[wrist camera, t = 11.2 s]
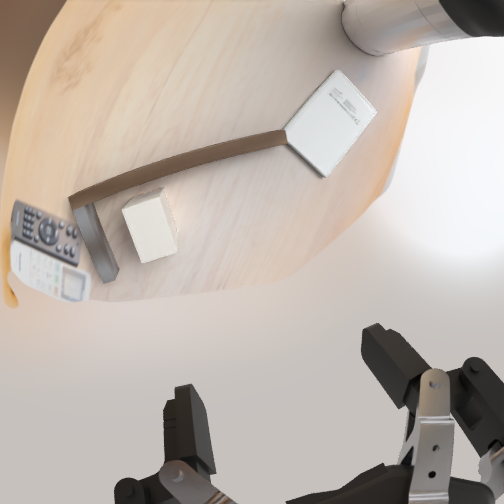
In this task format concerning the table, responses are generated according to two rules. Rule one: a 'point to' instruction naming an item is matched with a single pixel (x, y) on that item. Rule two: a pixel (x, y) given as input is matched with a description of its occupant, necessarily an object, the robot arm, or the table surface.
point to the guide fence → (86, 197)
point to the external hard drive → (329, 123)
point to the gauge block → (151, 225)
